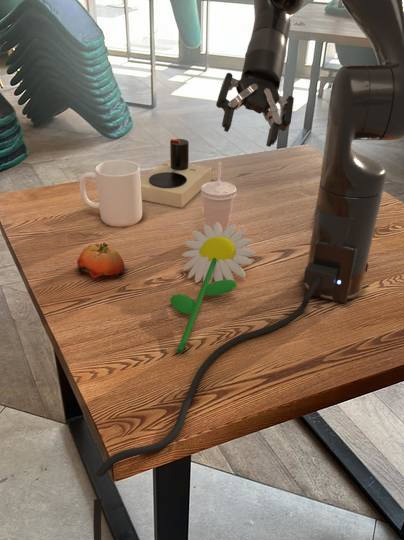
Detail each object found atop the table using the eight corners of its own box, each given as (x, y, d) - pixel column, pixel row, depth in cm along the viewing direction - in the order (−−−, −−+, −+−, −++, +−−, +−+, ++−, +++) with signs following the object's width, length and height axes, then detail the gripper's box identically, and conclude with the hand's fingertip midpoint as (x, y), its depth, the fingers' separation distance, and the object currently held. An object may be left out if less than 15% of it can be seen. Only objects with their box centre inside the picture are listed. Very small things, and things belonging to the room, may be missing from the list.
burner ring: (176, 190, 117) (176, 189, 117) (142, 184, 119) (142, 182, 119) (192, 177, 123) (192, 175, 122) (159, 171, 125) (159, 169, 125)
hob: (181, 207, 118) (181, 193, 116) (134, 198, 121) (133, 183, 119) (213, 178, 130) (213, 165, 128) (169, 171, 133) (169, 157, 131)
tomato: (127, 276, 93) (94, 243, 90) (97, 302, 95) (65, 271, 93) (132, 259, 100) (102, 228, 97) (104, 283, 102) (74, 254, 99)
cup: (137, 228, 110) (134, 177, 103) (77, 224, 111) (70, 173, 104) (146, 210, 116) (143, 161, 110) (88, 206, 117) (82, 157, 111)
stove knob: (191, 165, 128) (191, 138, 124) (184, 171, 125) (184, 144, 121) (174, 162, 129) (174, 136, 125) (167, 168, 126) (167, 142, 122)
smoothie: (234, 230, 110) (239, 158, 101) (232, 246, 105) (237, 171, 96) (201, 228, 110) (203, 156, 102) (198, 244, 105) (199, 169, 97)
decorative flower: (224, 371, 81) (261, 248, 101) (223, 347, 77) (261, 224, 97) (140, 360, 84) (191, 242, 103) (134, 336, 80) (189, 219, 100)
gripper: (235, 35, 104) (218, 113, 101) (306, 62, 107) (291, 139, 104) (223, 61, 111) (207, 135, 108) (290, 86, 114) (276, 158, 111)
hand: (248, 137), depth 106 cm, fingers open, 8 cm apart
